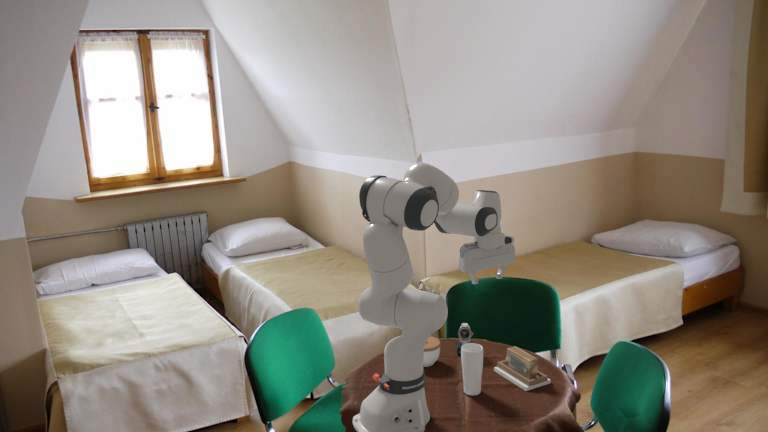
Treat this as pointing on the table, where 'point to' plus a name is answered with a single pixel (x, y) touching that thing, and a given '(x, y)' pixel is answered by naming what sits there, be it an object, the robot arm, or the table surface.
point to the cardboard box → (522, 362)
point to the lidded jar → (431, 351)
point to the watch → (463, 336)
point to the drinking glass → (472, 367)
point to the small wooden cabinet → (521, 377)
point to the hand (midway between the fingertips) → (487, 281)
